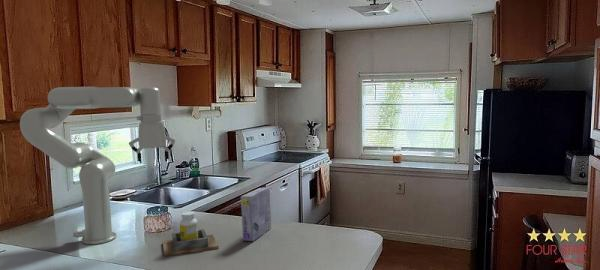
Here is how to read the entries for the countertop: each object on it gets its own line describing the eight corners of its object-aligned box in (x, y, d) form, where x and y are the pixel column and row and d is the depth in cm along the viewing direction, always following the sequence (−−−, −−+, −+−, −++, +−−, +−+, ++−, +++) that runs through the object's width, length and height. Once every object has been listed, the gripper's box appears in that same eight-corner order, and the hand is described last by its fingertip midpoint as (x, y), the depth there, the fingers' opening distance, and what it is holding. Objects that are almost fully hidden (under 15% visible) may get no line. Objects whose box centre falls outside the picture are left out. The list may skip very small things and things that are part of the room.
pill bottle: (182, 241, 164) (180, 211, 163) (199, 240, 164) (198, 210, 163) (179, 246, 157) (177, 216, 156) (197, 246, 158) (195, 215, 157)
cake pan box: (262, 226, 183) (260, 185, 181) (273, 227, 181) (271, 186, 179) (241, 241, 165) (239, 196, 163) (253, 242, 163) (251, 197, 161)
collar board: (164, 256, 151) (163, 245, 151) (162, 243, 164) (162, 233, 164) (218, 248, 157) (218, 237, 157) (212, 236, 171) (212, 227, 170)
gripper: (127, 120, 162) (129, 165, 164) (174, 118, 168) (176, 161, 170) (127, 119, 169) (130, 162, 171) (173, 117, 175) (175, 159, 177)
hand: (153, 162), depth 170 cm, fingers open, 9 cm apart
